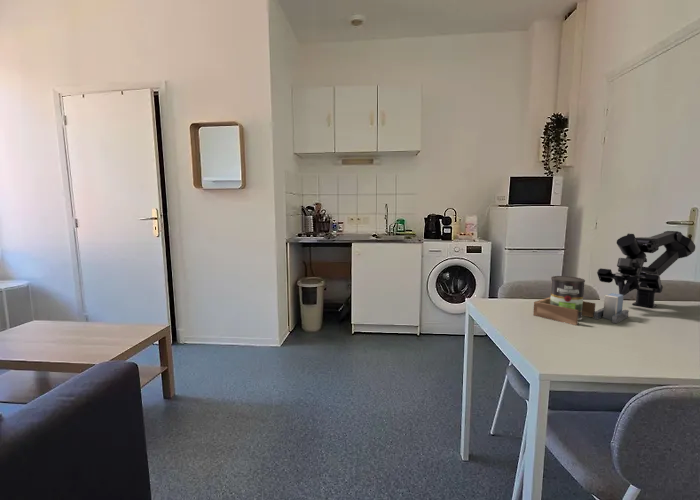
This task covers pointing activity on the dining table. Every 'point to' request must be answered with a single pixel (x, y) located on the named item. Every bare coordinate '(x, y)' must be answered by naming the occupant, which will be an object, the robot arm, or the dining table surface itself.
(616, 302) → the blue block white cap
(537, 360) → the dining table surface
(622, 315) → the rails
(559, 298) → the coffee can
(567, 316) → the walnut bay
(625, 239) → the robot arm
